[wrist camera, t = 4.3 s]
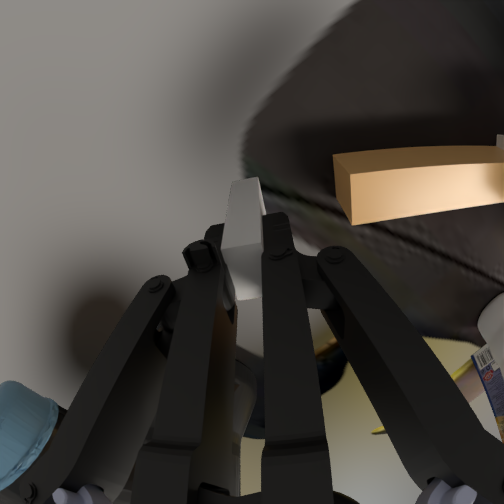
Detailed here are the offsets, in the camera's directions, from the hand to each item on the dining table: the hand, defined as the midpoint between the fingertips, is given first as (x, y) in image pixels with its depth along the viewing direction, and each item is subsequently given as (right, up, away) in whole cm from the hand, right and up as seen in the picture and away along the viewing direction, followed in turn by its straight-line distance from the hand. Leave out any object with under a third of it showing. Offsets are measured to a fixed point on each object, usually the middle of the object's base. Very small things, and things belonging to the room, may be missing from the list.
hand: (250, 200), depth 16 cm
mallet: (+15, +3, -1) cm, 16 cm away
